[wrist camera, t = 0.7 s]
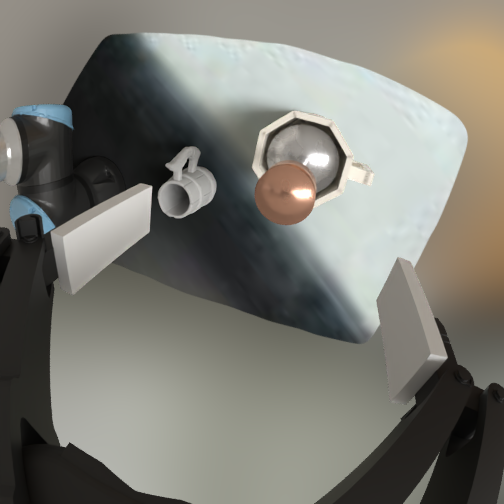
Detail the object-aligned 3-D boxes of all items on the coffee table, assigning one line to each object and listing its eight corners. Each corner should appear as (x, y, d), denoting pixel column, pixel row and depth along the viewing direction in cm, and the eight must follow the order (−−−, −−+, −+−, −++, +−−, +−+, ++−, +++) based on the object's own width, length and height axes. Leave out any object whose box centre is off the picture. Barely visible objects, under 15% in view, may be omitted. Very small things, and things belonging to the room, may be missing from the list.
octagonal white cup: (264, 174, 50) (245, 194, 39) (279, 105, 44) (264, 102, 33) (352, 200, 48) (359, 227, 37) (373, 131, 42) (389, 138, 31)
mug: (180, 200, 56) (147, 223, 46) (182, 141, 50) (146, 151, 40) (216, 207, 55) (190, 231, 44) (221, 144, 49) (192, 154, 39)
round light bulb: (261, 182, 39) (215, 234, 24) (276, 117, 35) (235, 120, 19) (327, 201, 38) (326, 268, 23) (346, 136, 34) (364, 154, 18)
